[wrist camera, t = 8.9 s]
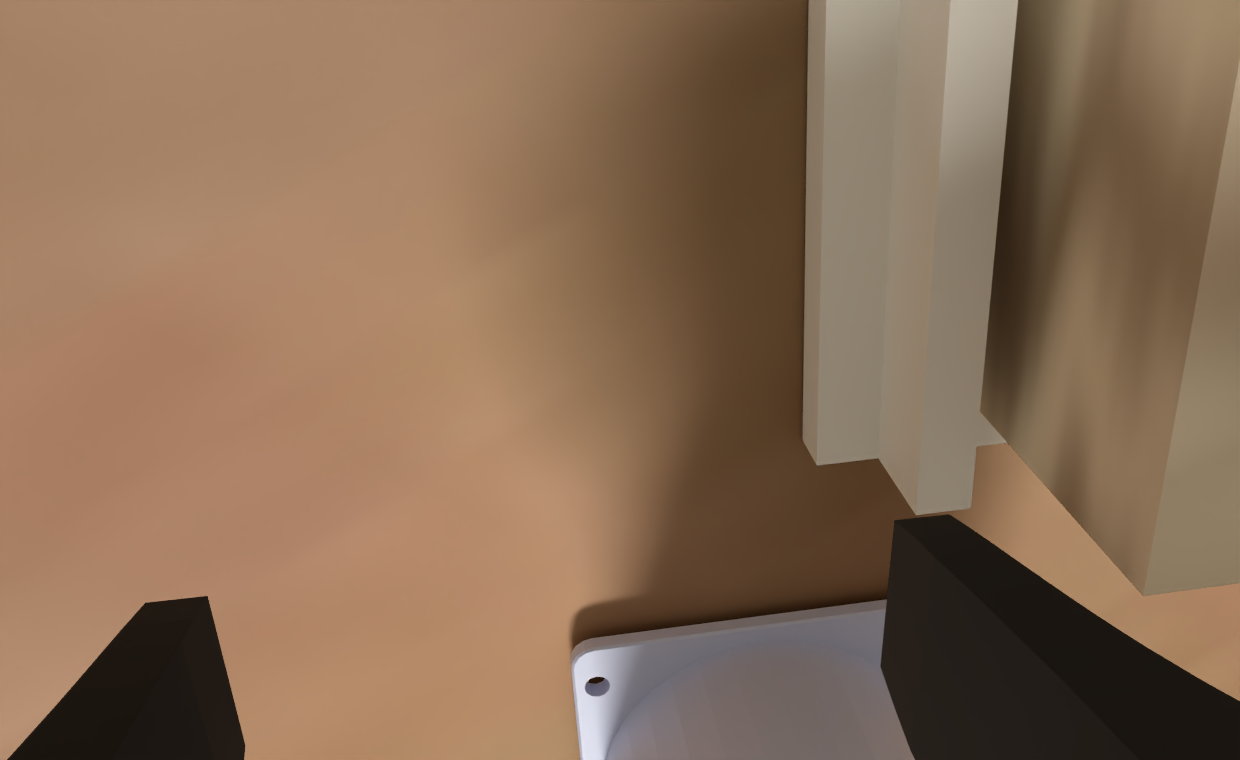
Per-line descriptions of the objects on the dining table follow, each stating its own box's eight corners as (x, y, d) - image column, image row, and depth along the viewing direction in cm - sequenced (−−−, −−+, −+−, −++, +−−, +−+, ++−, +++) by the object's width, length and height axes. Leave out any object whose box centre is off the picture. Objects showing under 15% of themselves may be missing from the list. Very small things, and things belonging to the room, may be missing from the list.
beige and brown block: (1173, 378, 22) (1405, 560, 16) (971, 402, 21) (1143, 595, 16) (1281, -231, 17) (1652, -254, 12) (1026, -213, 17) (1291, -229, 11)
